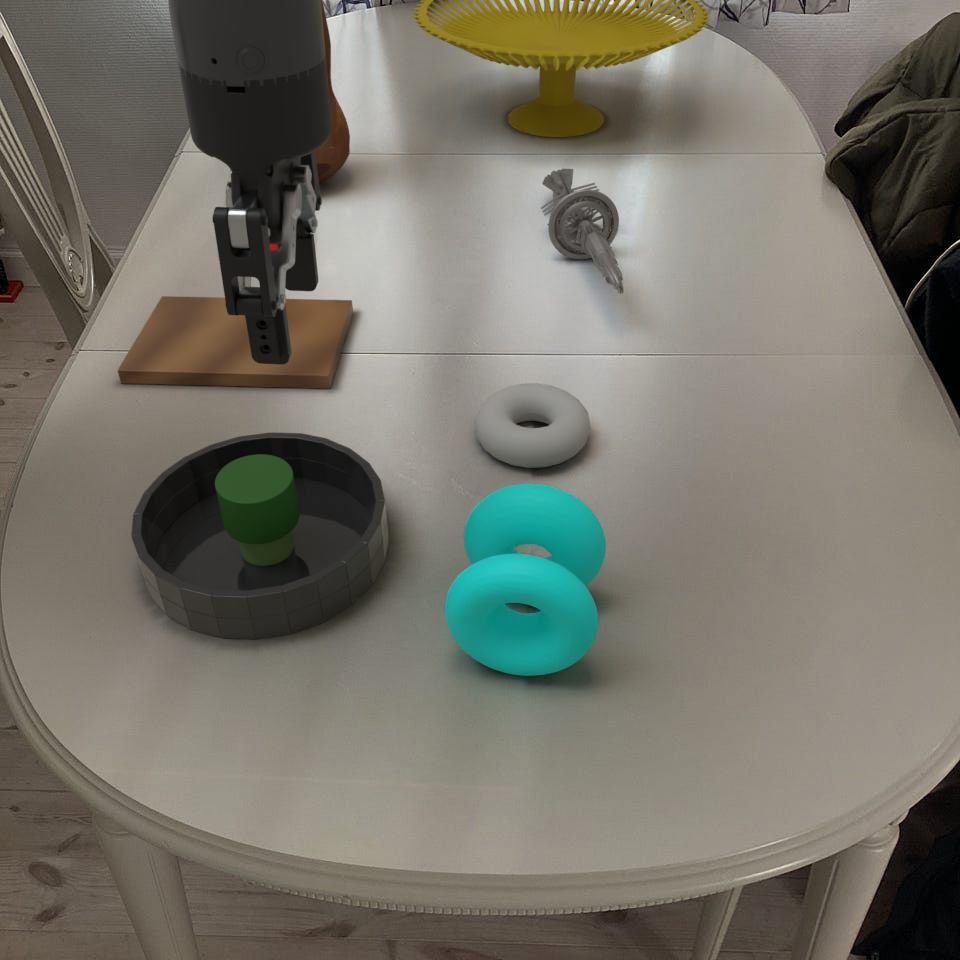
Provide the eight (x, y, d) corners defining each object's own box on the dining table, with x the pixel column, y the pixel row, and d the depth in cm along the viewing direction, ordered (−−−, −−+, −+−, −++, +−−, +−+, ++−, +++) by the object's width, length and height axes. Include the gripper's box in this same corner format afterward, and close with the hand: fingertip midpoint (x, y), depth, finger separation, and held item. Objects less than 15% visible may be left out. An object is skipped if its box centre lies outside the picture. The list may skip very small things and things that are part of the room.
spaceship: (569, 270, 96) (647, 234, 95) (513, 162, 125) (573, 134, 124) (597, 338, 100) (672, 305, 99) (537, 219, 129) (595, 192, 128)
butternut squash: (323, 155, 138) (300, -47, 122) (371, 188, 130) (354, -25, 114) (228, 179, 132) (191, -30, 116) (272, 216, 124) (239, -5, 108)
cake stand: (544, 202, 126) (548, 79, 116) (362, 113, 150) (354, 4, 141) (755, 125, 145) (773, 13, 136) (564, 57, 170) (568, -42, 160)
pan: (110, 636, 72) (94, 592, 69) (184, 472, 86) (173, 429, 83) (370, 646, 71) (364, 601, 68) (401, 478, 85) (398, 435, 82)
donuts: (602, 586, 75) (612, 482, 68) (591, 693, 67) (601, 587, 61) (468, 571, 76) (466, 468, 70) (443, 674, 69) (438, 569, 62)
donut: (564, 489, 84) (605, 422, 90) (566, 457, 81) (608, 390, 88) (455, 458, 87) (503, 395, 94) (454, 427, 85) (502, 364, 92)
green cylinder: (222, 572, 76) (205, 501, 71) (240, 522, 80) (225, 452, 76) (296, 575, 76) (284, 504, 71) (310, 524, 80) (299, 454, 75)
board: (120, 383, 96) (117, 370, 95) (164, 308, 107) (161, 295, 106) (330, 388, 95) (328, 375, 94) (353, 312, 106) (352, 299, 105)
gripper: (216, 9, 58) (254, 266, 68) (135, 96, 47) (195, 386, 57) (346, 12, 58) (365, 270, 68) (295, 101, 47) (327, 391, 57)
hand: (287, 322), depth 63 cm, fingers open, 8 cm apart
